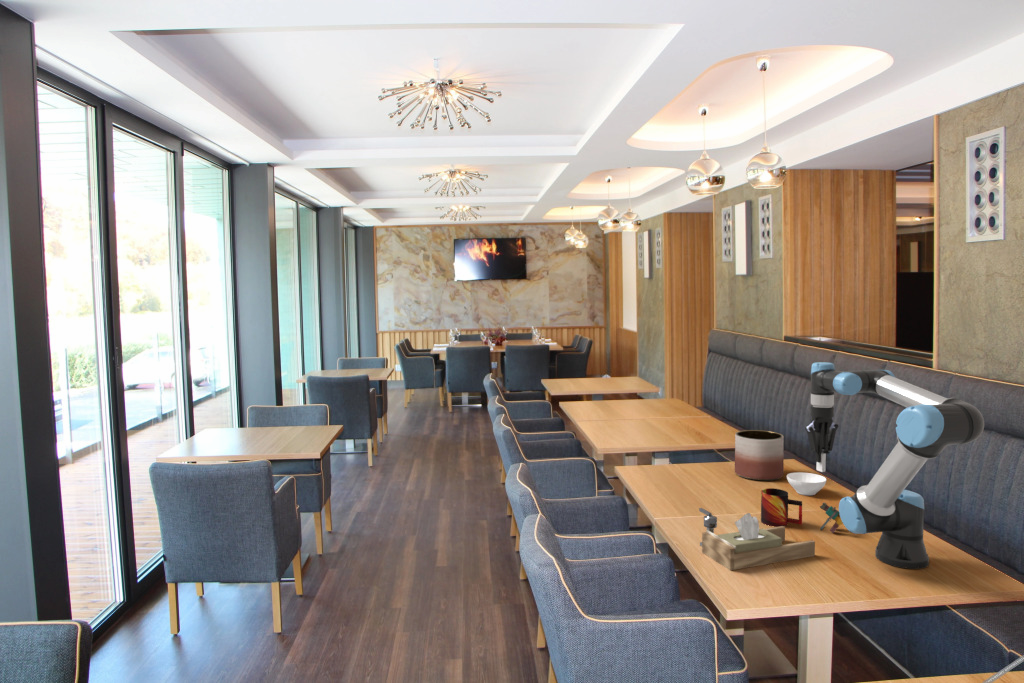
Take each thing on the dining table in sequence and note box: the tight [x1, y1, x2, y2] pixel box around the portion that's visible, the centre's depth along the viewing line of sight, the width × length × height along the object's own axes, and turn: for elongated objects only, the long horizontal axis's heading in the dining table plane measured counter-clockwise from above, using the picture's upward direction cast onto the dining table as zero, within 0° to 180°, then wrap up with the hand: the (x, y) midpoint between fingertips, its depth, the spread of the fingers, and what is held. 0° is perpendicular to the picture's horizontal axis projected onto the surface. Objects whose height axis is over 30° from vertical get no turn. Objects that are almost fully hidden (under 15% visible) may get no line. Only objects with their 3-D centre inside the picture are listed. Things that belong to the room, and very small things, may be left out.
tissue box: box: [716, 512, 783, 553], centre depth 216 cm, size 19×10×16 cm, turn 107°
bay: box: [701, 526, 816, 571], centre depth 220 cm, size 15×34×8 cm, turn 108°
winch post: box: [698, 507, 718, 547], centre depth 229 cm, size 8×5×12 cm, turn 18°
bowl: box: [786, 472, 827, 496], centre depth 285 cm, size 16×16×7 cm
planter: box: [734, 429, 785, 482], centre depth 313 cm, size 22×22×20 cm
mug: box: [760, 487, 803, 527], centre depth 249 cm, size 10×14×12 cm
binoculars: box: [819, 502, 843, 534], centre depth 241 cm, size 9×9×10 cm
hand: (820, 470), depth 233 cm, fingers closed
